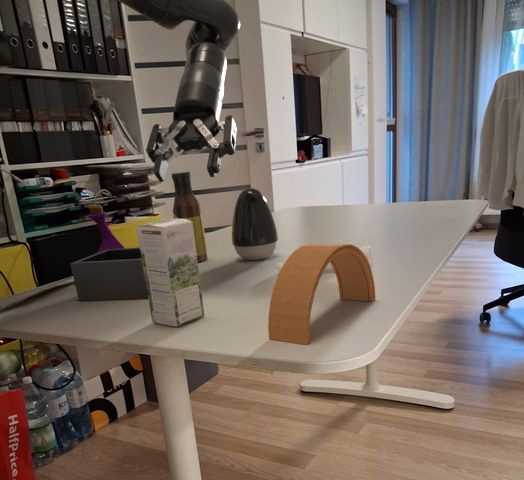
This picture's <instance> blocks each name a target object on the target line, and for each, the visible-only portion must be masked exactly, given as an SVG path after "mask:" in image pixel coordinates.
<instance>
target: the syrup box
mask: <svg viewBox="0 0 524 480" xmlns="http://www.w3.org/2000/svg"><path fill="white" fill-rule="evenodd" d="M135 229H136V235H137V240H138V248H139V247H140V253H141V258H142V265H143V270H144V276H145V282H146V287H147V293H148V299H147V300H148V304H149V310H150V316H151V321H152V323H153V324H159V325H164V326H170V327H174V328H175V327H176V328H178V327H181V326H183V325H186V324H188V323H191V322H194V321H195V320H199V319H201V318H203V317H205V308H204V300H203V293H202V287H201V279H200V271H199V262H197V254H196V246H195V239H194V231H193V223H192V221H190V220H185V219H174V218H168V219H163V220H158V221H153V222H149V223H145V224H139V225H136V227H135Z"/></svg>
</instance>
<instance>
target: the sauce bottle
mask: <svg viewBox="0 0 524 480" xmlns="http://www.w3.org/2000/svg"><path fill="white" fill-rule="evenodd" d="M191 176H192V175H191V171H190V170H183V171H175V172H172V173H171V180H172V181H173V187H174V193H175V194H174V201H173V206H172V214H173V215H172V216H173V219H185V220H190V221H192V223H193V231H194V239H195V246H196V254H197V262H198V263H201V262H205V261H207V260H208V247H207V240H206V233H205V228H204V221H203V216H202V211H201V205H200V202H199V200H198V198H197V197H196V196H195V194H194V193H193V188H192V181H191Z"/></svg>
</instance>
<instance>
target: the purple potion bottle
mask: <svg viewBox="0 0 524 480" xmlns="http://www.w3.org/2000/svg"><path fill="white" fill-rule="evenodd" d="M104 191H105V192H106V193H107V194H108V195H109V196H110V199H111V200H112V198H113V197H112V194H111V193H110V192H109V190H107V189H100V190H98V191H97V192H96V194H95V195H94V201H93V203H94V204H89V206H87V208H88V211H89V214H87V218H88V219H91V220H92V221H93V222H94V223H95V224H96V225H97V226H98V229H99V230H100V232H101V236H102V242H101V244H100V247H99V249H98V250H97V253H99V252H101V251H104V250H107V249H122V248H125V247H124V245H123V244H122V243H121V242H120V240H119V239H118V238H117V237H116V236H115V234H114V233H113V231H112V230H111V228H110V227H109V224H107V221H106V220H107V219H106V217H107V216H108V213H107V212H106V211H104V209H103V206H102V204H101V205H100V204H96V203H97V202H96V198H97V196H98V195H99V194H100V193H101V192H104Z"/></svg>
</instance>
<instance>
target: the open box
mask: <svg viewBox="0 0 524 480" xmlns="http://www.w3.org/2000/svg"><path fill="white" fill-rule="evenodd" d="M69 266H70V269H71V273H72V277H73V281H74V282H73V283H74V287H75V290H76V291H75V292H76V295H77V299H78V301H79V302H93V301H120V300H121V301H123V300H125V301H127V300H149V299H148V293H147V287H146V282H145V276H144V270H143V265H142V258H141V253H140V247H139V246H138V247H124V248H122V249H107V250H104V251H101V252H99V253H98V252H96V253H94V254H91V255H88V256H86V257H84V258H81V259H79V260H76V261H73V262H70V265H69Z"/></svg>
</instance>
